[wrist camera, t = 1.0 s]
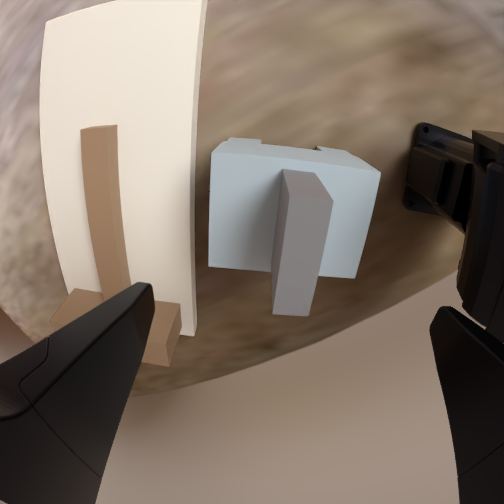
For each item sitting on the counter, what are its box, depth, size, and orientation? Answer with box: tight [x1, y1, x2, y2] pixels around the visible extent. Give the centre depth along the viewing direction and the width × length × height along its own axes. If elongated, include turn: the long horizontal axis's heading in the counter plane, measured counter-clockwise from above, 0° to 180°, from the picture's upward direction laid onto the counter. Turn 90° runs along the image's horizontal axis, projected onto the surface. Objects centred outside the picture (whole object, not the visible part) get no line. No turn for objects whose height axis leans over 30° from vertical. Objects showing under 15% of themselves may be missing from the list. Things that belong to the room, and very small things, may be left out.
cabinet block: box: [208, 137, 381, 316], centre depth 15 cm, size 8×6×10 cm
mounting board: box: [40, 0, 207, 367], centre depth 17 cm, size 12×26×6 cm, turn 175°
